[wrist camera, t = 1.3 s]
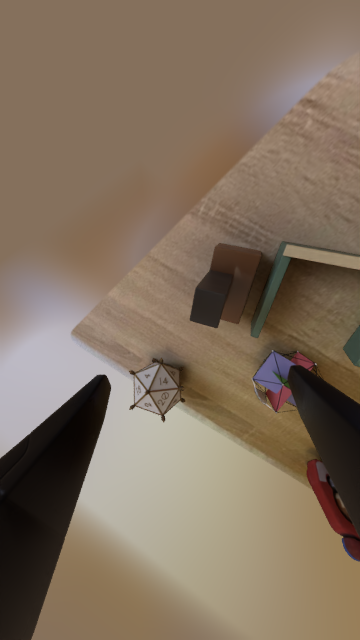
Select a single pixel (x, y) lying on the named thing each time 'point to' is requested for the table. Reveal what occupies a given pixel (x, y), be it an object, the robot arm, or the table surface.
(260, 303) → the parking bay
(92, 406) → the robot arm
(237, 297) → the walnut pusher
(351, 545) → the toy fire truck
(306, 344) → the table surface
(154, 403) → the game die
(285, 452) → the table surface
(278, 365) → the geometric puzzle
